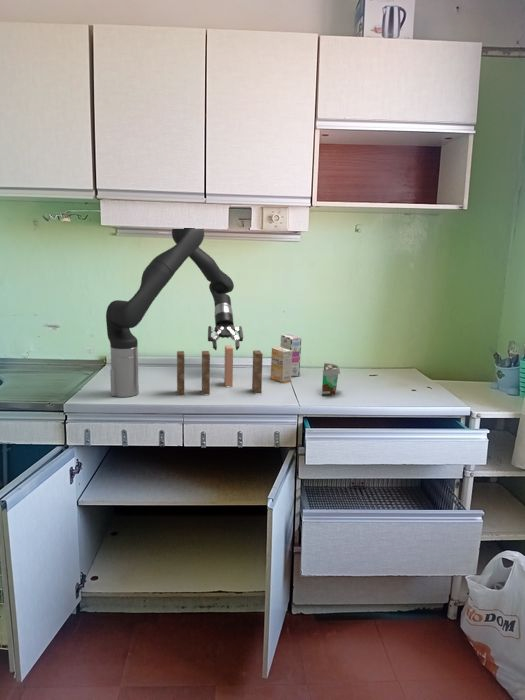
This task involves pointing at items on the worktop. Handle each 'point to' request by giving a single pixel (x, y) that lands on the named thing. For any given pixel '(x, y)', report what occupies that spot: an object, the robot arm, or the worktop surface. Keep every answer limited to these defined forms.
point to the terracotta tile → (228, 366)
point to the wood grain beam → (257, 371)
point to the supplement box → (281, 364)
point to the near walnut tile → (180, 372)
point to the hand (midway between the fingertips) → (226, 348)
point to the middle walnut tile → (205, 372)
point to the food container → (330, 379)
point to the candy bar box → (294, 345)
